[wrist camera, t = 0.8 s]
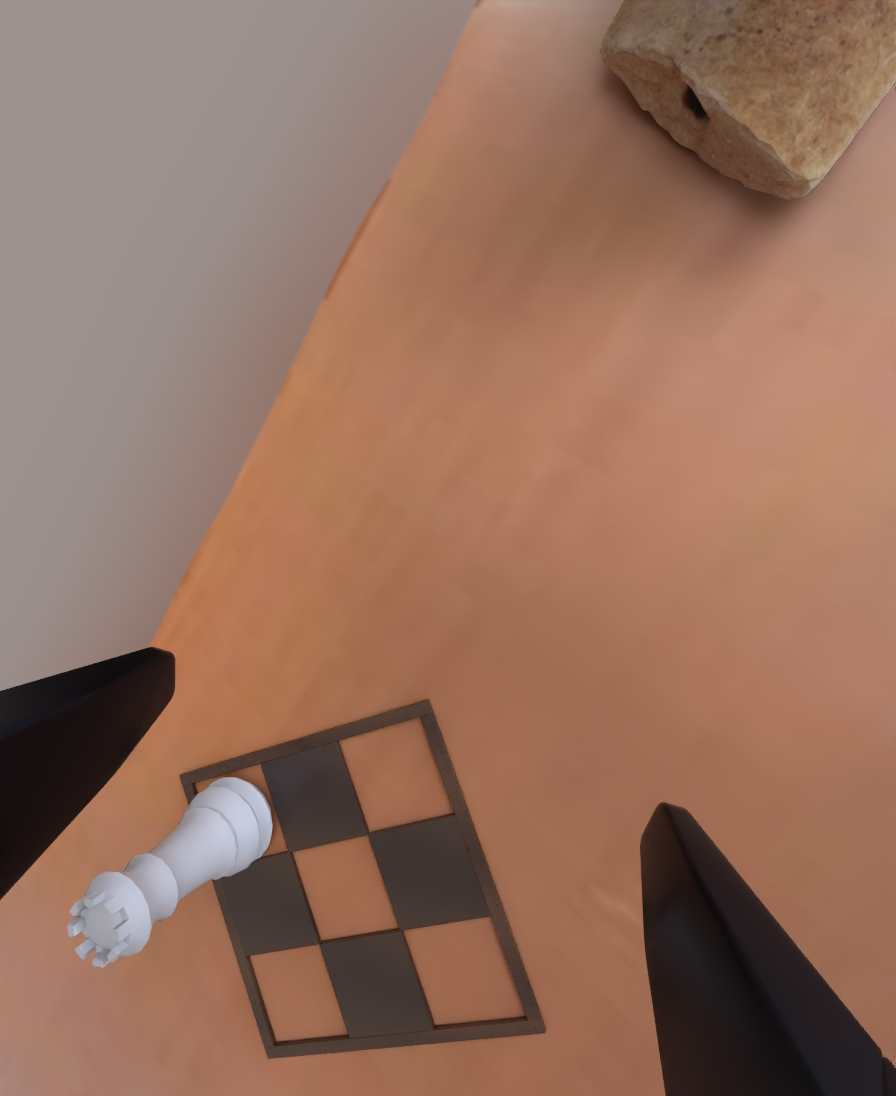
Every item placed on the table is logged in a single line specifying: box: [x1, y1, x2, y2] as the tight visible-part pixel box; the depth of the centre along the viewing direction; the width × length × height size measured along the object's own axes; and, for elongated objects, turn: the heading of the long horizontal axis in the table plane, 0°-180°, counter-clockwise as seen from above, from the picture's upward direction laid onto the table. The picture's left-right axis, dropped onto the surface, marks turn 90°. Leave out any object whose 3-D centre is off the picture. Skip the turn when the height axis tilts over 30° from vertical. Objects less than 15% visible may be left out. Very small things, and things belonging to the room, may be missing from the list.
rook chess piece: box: [67, 777, 273, 968], centre depth 22 cm, size 4×4×8 cm
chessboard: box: [180, 699, 546, 1059], centre depth 24 cm, size 15×15×1 cm
